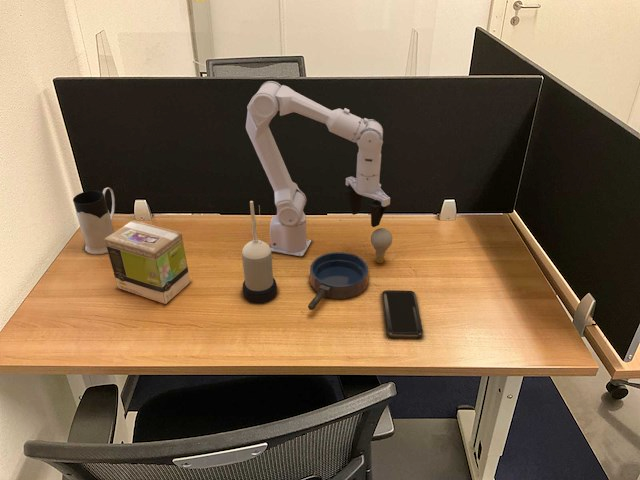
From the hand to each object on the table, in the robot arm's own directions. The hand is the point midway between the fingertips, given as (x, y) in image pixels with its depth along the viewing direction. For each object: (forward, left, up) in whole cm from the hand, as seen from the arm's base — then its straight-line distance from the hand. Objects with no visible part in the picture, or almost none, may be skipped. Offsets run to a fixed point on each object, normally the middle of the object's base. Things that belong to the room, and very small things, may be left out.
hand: (365, 219), depth 131 cm
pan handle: (-5, -25, -8) cm, 27 cm away
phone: (+14, -22, -10) cm, 28 cm away
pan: (-3, -14, -10) cm, 18 cm away
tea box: (-46, -29, -11) cm, 56 cm away
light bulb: (+5, -3, -11) cm, 12 cm away
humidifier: (-20, -24, -11) cm, 33 cm away
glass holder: (-70, -15, -11) cm, 72 cm away
